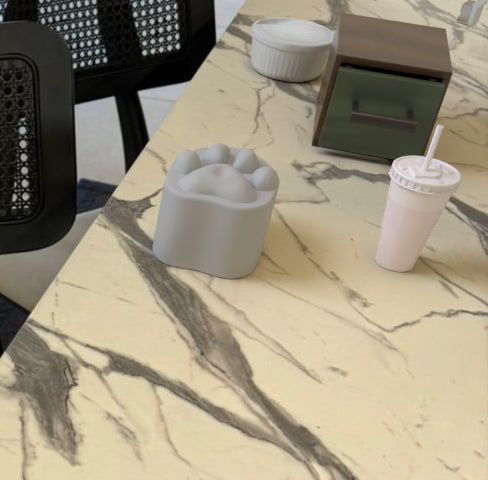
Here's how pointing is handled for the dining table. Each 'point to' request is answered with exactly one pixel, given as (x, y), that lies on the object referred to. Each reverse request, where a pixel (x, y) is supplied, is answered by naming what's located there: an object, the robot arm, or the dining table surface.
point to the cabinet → (384, 55)
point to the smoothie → (414, 206)
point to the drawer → (380, 111)
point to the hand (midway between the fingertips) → (417, 10)
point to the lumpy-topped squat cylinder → (215, 211)
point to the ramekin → (290, 48)
